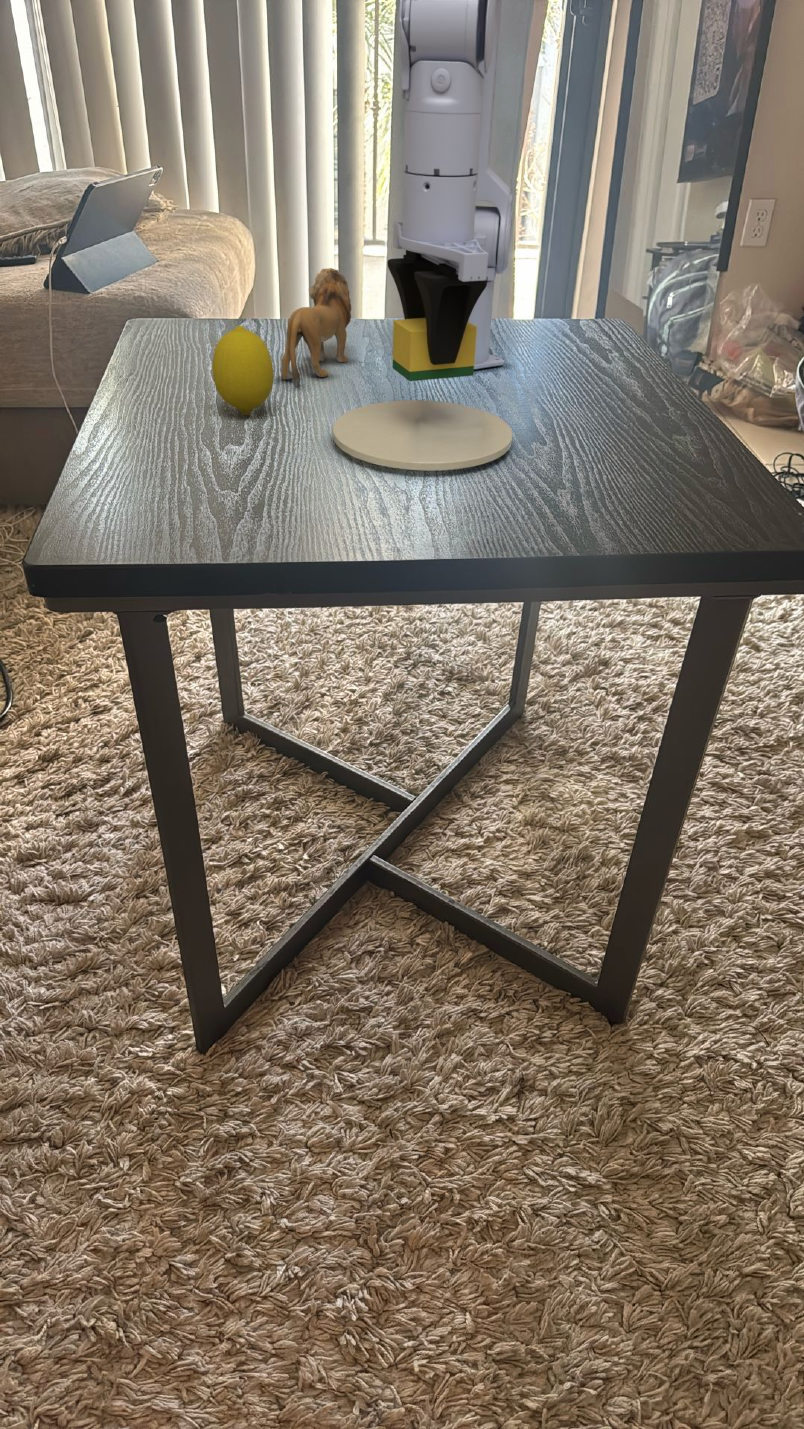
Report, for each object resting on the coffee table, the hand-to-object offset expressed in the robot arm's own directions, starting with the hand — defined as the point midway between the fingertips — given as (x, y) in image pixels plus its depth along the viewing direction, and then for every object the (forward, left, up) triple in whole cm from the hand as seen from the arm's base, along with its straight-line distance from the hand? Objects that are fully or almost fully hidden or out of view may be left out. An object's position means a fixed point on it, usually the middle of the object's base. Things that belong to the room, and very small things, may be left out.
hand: (432, 355), depth 78 cm
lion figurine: (-25, +1, -8) cm, 26 cm away
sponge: (0, 0, -1) cm, 1 cm away
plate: (0, -1, -7) cm, 7 cm away
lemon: (-14, -12, -8) cm, 20 cm away
